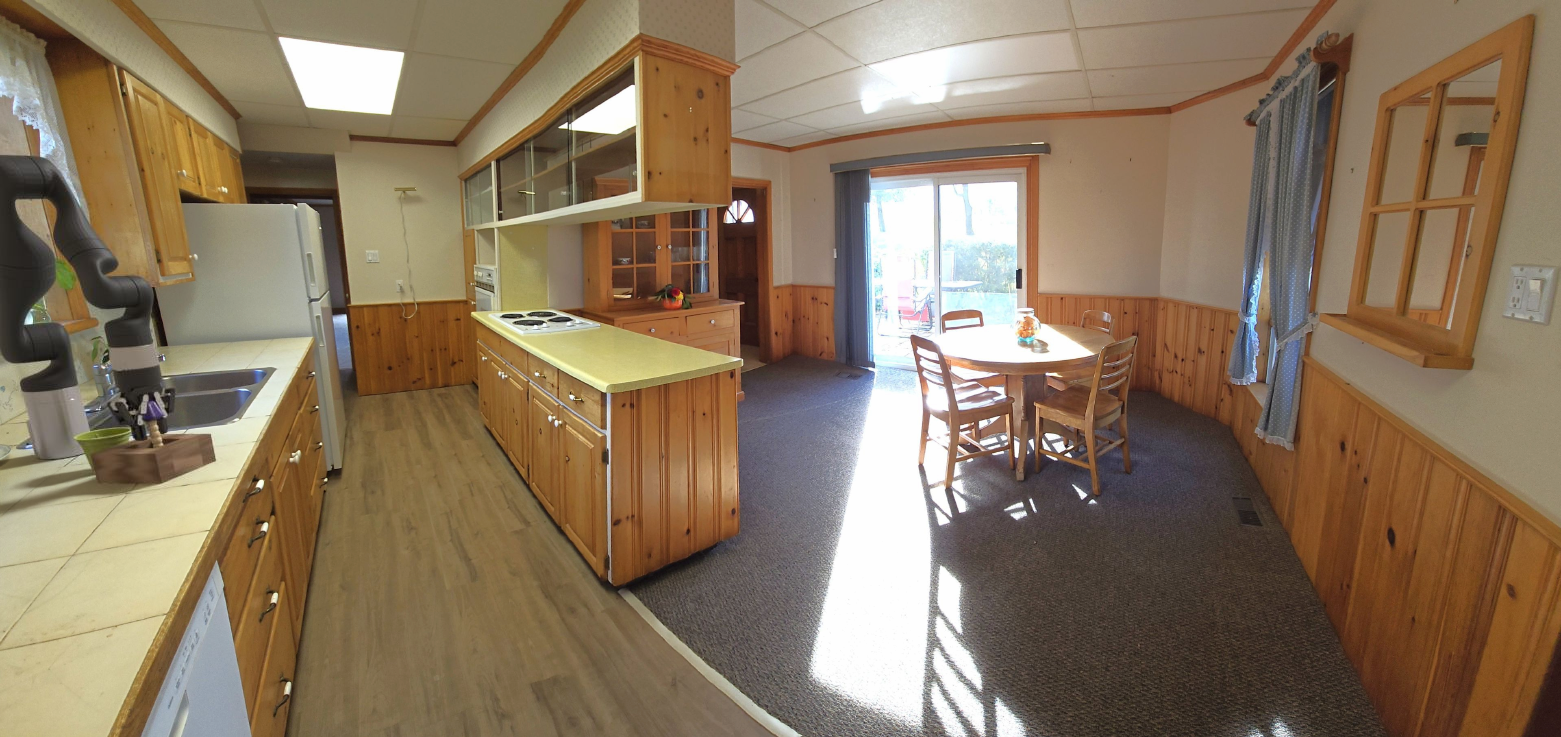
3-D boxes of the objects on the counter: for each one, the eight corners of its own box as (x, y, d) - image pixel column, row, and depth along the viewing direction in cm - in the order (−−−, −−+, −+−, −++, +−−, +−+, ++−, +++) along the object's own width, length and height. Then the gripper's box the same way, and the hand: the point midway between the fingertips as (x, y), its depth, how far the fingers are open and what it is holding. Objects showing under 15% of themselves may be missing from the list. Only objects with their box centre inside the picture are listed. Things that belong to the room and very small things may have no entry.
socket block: (97, 483, 138) (90, 454, 136) (157, 461, 151) (151, 434, 150) (161, 483, 138) (155, 453, 136) (216, 460, 152) (210, 433, 150)
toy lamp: (158, 474, 142) (141, 405, 138) (143, 472, 143) (125, 403, 139) (182, 466, 147) (166, 399, 143) (166, 464, 148) (150, 398, 144)
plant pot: (129, 458, 153) (121, 425, 151) (147, 464, 149) (139, 430, 147) (75, 471, 145) (66, 436, 143) (93, 477, 141) (84, 441, 139)
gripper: (149, 358, 146) (164, 427, 150) (84, 371, 132) (102, 447, 136) (181, 358, 146) (196, 427, 150) (120, 371, 132) (137, 447, 136)
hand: (151, 436), depth 143 cm, fingers closed on toy lamp, 4 cm apart
